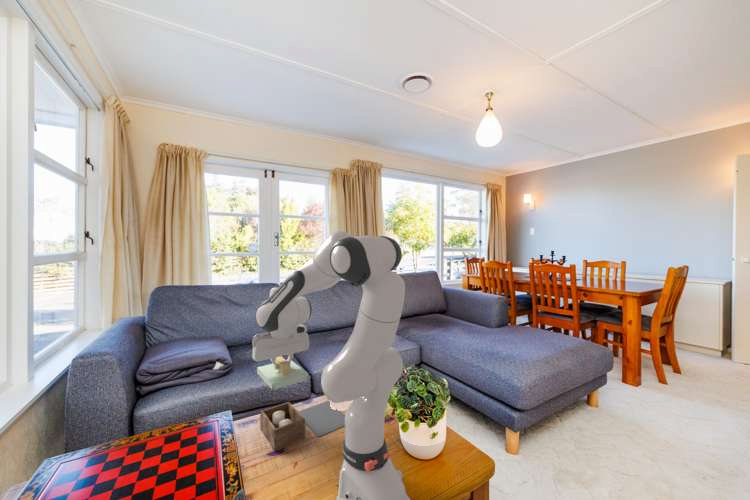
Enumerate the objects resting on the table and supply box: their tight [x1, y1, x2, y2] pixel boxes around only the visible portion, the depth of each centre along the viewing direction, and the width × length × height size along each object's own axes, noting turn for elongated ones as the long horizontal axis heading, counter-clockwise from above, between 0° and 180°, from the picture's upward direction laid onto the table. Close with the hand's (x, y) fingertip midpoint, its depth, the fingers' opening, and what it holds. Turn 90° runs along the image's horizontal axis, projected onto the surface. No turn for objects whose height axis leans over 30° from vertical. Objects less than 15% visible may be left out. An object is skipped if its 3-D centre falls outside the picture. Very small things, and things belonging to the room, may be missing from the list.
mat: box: [297, 400, 346, 438], centre depth 120 cm, size 20×15×1 cm
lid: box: [256, 356, 309, 391], centre depth 109 cm, size 17×13×6 cm
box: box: [259, 401, 306, 452], centre depth 109 cm, size 15×11×7 cm
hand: (282, 367), depth 109 cm, fingers closed on lid, 3 cm apart
